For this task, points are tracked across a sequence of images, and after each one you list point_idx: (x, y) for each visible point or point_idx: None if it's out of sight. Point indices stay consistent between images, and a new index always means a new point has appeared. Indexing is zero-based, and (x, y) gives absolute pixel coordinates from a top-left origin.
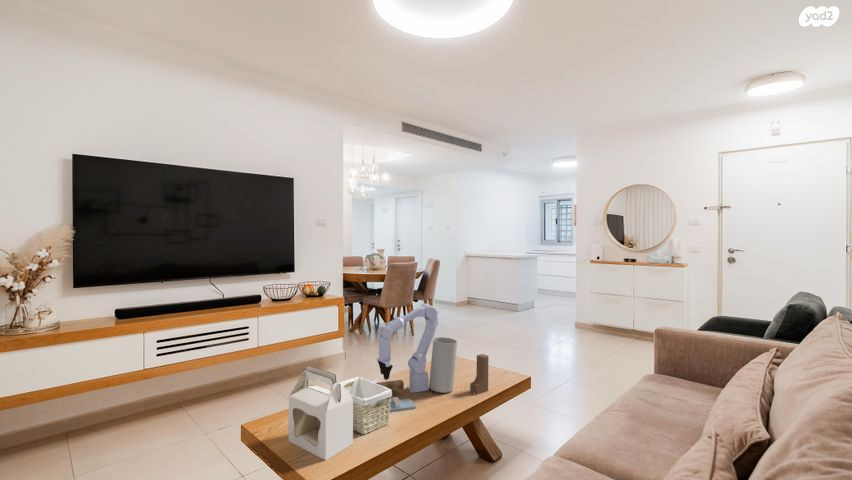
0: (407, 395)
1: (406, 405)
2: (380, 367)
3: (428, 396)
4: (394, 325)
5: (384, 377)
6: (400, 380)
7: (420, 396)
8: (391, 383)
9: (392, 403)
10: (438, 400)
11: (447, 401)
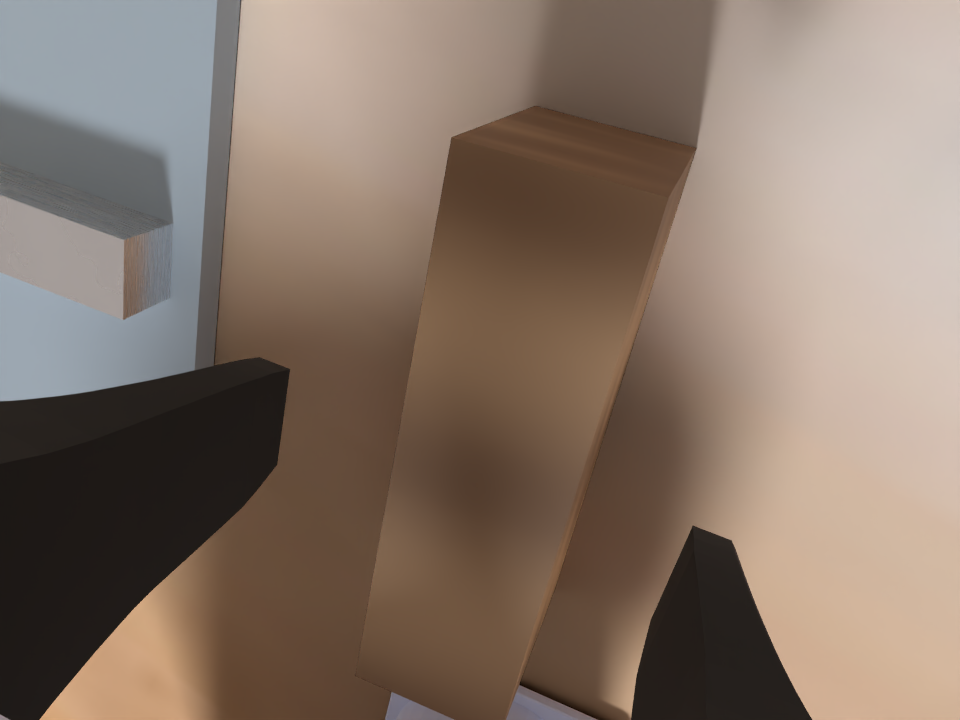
0: (368, 551)
1: (16, 322)
2: (699, 680)
3: (236, 690)
4: None
5: (206, 375)
6: (474, 705)
7: (271, 635)
8: (415, 497)
9: (117, 194)
10: (113, 681)
11: (70, 714)
